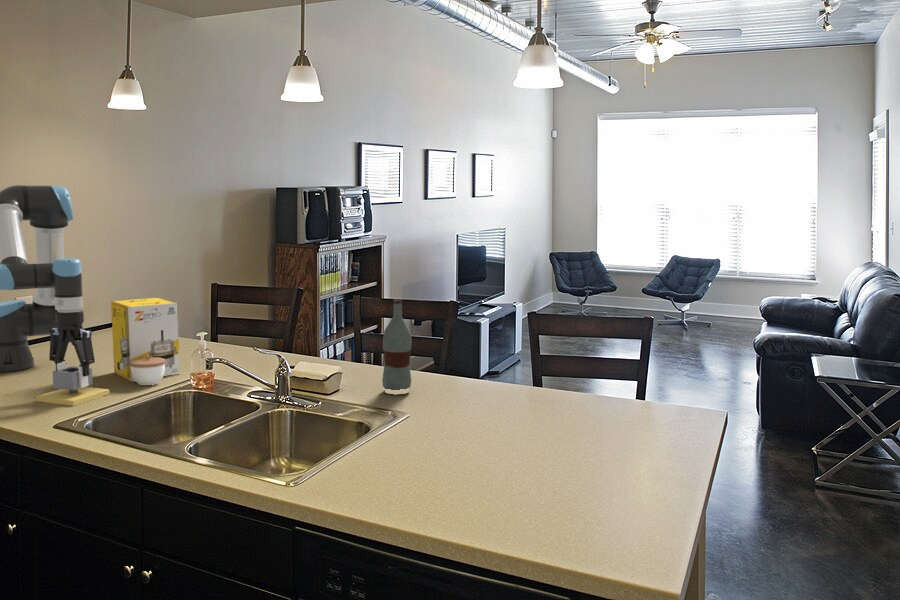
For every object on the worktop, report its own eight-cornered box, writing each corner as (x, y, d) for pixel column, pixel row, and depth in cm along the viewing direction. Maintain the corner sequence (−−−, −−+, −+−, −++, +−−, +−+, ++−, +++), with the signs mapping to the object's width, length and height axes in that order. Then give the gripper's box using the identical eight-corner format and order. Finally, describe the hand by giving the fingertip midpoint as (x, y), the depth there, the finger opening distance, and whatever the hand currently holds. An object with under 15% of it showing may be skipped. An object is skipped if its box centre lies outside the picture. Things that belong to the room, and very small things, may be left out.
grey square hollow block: (53, 387, 221) (52, 371, 220) (73, 382, 228) (72, 366, 228) (73, 390, 219) (72, 373, 218) (92, 384, 226) (91, 368, 225)
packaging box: (131, 381, 244) (128, 307, 241) (114, 372, 256) (111, 301, 253) (179, 374, 255) (177, 303, 252) (161, 366, 267) (158, 297, 263)
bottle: (413, 389, 242) (414, 298, 238) (408, 396, 233) (410, 302, 229) (385, 387, 243) (385, 297, 239) (379, 395, 234) (380, 301, 230)
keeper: (36, 401, 220) (35, 379, 219) (73, 389, 233) (72, 369, 232) (73, 406, 215) (72, 384, 215) (109, 394, 229) (108, 373, 228)
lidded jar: (128, 388, 236) (127, 359, 234) (133, 380, 246) (132, 352, 245) (164, 387, 238) (163, 358, 237) (167, 379, 249) (166, 351, 247)
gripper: (32, 310, 220) (36, 385, 223) (87, 314, 214) (90, 391, 217) (52, 306, 227) (56, 379, 230) (106, 310, 221) (109, 385, 224)
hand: (73, 385), depth 223 cm, fingers closed on grey square hollow block, 7 cm apart
